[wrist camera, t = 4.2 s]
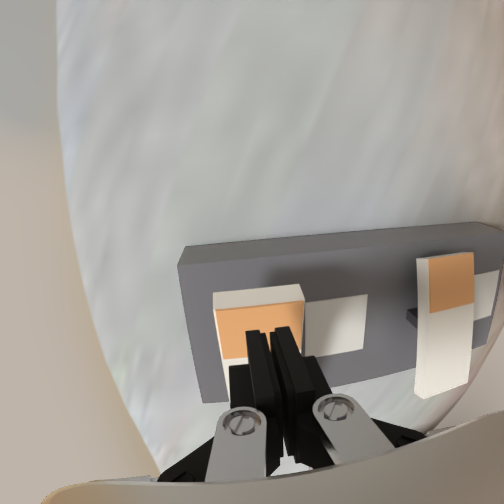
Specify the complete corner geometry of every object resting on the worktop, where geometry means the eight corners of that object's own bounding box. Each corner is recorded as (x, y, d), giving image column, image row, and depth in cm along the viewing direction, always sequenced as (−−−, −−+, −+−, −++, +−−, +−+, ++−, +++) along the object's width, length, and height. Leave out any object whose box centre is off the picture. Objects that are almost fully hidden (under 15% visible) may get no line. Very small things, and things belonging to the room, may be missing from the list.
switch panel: (185, 246, 21) (173, 274, 16) (476, 221, 23) (519, 236, 17) (204, 369, 24) (202, 417, 19) (461, 324, 25) (495, 351, 20)
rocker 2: (416, 258, 18) (428, 259, 16) (462, 252, 18) (474, 252, 17) (414, 392, 18) (423, 400, 17) (457, 377, 18) (468, 383, 17)
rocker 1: (212, 292, 15) (213, 311, 14) (299, 283, 15) (305, 301, 14) (230, 399, 19) (232, 416, 18) (292, 392, 20) (295, 409, 18)
